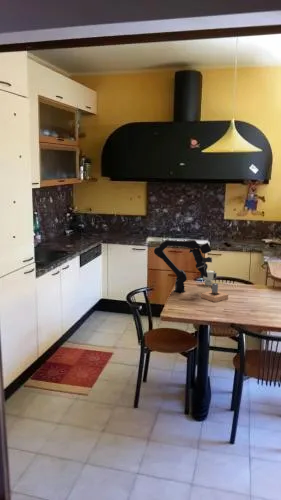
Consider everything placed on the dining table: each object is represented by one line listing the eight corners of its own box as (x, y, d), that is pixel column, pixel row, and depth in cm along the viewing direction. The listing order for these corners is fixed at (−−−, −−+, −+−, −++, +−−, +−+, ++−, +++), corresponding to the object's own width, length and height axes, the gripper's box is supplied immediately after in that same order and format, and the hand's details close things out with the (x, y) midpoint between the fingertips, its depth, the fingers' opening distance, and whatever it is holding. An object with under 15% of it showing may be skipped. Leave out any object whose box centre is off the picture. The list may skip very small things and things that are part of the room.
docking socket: (201, 297, 280) (201, 293, 279) (214, 294, 287) (214, 290, 287) (215, 302, 270) (215, 297, 269) (228, 298, 277) (228, 294, 277)
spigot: (210, 297, 279) (210, 283, 277) (214, 296, 281) (214, 282, 279) (214, 299, 276) (215, 285, 274) (218, 298, 278) (219, 284, 276)
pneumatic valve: (215, 286, 307) (216, 271, 305) (200, 285, 310) (200, 270, 308) (216, 284, 313) (216, 269, 310) (200, 283, 315) (201, 268, 313)
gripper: (207, 251, 276) (215, 272, 273) (210, 253, 294) (218, 273, 291) (191, 257, 278) (200, 278, 275) (196, 259, 296) (203, 278, 293)
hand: (206, 277), depth 284 cm, fingers open, 9 cm apart
